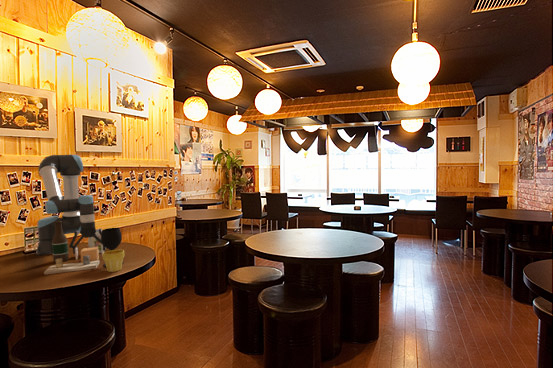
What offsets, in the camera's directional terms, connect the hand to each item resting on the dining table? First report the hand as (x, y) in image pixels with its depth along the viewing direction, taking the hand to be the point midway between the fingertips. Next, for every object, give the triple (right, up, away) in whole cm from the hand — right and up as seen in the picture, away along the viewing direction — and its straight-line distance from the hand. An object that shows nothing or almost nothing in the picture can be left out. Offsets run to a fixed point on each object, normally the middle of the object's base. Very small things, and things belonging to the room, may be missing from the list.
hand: (90, 257), depth 198 cm
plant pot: (+24, -2, -20) cm, 31 cm away
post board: (-1, -3, -14) cm, 14 cm away
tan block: (0, -2, 0) cm, 2 cm away
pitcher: (-6, -1, +22) cm, 22 cm away
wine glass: (+18, -2, -9) cm, 20 cm away
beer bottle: (-19, -3, +3) cm, 20 cm away
